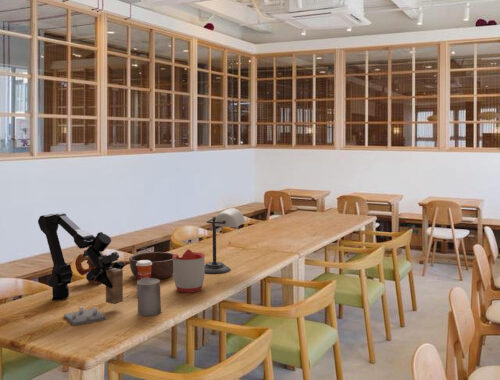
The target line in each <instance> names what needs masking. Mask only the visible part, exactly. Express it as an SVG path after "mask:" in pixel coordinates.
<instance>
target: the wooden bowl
mask: <svg viewBox="0 0 500 380" xmlns="http://www.w3.org/2000/svg"><path fill="white" fill-rule="evenodd" d="M174 254H175V253H171V252H167V251H166V252H165V251H162V252H161V251H151V252H140V253H136V254H132V255H131V256H130V257H129V258H128V260H129V266H130V271H131V273H132V275H133V276H134V278H136V279H138V276H137V265H136V264H137V261H140V260H149V261H151V262H152V265H151V278H155V279H159V280H163V279H168V278H171V277H172V276H174V275H173V257H172V256H173V255H174Z"/></svg>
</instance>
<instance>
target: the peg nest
mask: <svg viewBox="0 0 500 380" xmlns="http://www.w3.org/2000/svg"><path fill="white" fill-rule="evenodd" d="M78 308H79V309H78V310H79V311H76V310H73V311H71V312H69V313H64V318H65V319H66V320H67V321H68V323H71V325H72V326H79V325H80V326H81V325H85V324H90V323H95V322H101V321H106V319H107V317H106V316H105V315H104V314H103V313H101V312H100V311H99V310H98V307H97V306H93V307H92V308H90V309H86V310H84V306H79V307H78Z"/></svg>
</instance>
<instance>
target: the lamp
mask: <svg viewBox="0 0 500 380" xmlns="http://www.w3.org/2000/svg"><path fill="white" fill-rule="evenodd" d="M245 222H246V220H245V218H244V215H243V213H242V212H241V211H240V210H239V209H237V208H234V207H230V208H227V209H225V210H223V211H221V212H219V213H218V214H217V215H216V216H213V217H212V218H210V219H209V220H206V223H207V224H212V226H211V227H212V229H211V230H212V261H210V262H206V263H204V266H205V275H220V274H221V275H222V274H226V273H229V272H231V271H232V269H231V268H230V266H228V265H226V264H224V263H223V262H221V261H217V227H223V228H224V227H225V228H229V232H231V228H238V227H240V226H241V225H242V224H244V223H245ZM231 243H232V242H231V241H228V244H229V245H230V244H231Z"/></svg>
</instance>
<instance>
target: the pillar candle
mask: <svg viewBox="0 0 500 380" xmlns="http://www.w3.org/2000/svg"><path fill="white" fill-rule="evenodd" d="M136 291H137V292H136V293H137V295H136V296H137V314H138V315H140V316H143V317H146V316H148V317H149V316H150V317H151V316H156V315H159V314H160V313H162V304H161V303H162V302H161V300H162V299H161V298H162V297H161V279H155V278H146V279H141V280H138V279H137V282H136Z"/></svg>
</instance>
